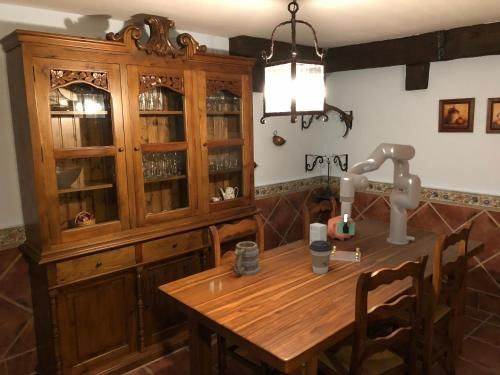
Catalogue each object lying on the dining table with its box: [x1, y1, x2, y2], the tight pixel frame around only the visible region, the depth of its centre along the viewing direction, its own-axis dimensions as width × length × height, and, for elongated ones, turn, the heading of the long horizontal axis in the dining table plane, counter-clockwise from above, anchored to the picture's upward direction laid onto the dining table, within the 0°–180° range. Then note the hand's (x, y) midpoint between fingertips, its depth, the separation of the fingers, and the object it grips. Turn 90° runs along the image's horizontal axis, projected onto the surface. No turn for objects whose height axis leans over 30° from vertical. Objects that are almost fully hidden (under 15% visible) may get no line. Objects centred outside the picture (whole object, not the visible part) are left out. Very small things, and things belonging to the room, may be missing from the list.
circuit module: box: [337, 221, 356, 236], centre depth 229 cm, size 9×5×6 cm, turn 71°
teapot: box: [327, 215, 354, 242], centre depth 265 cm, size 22×13×14 cm, turn 135°
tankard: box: [233, 240, 261, 276], centre depth 211 cm, size 20×13×15 cm, turn 154°
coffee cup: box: [308, 240, 333, 275], centre depth 211 cm, size 11×11×15 cm
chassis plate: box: [329, 245, 362, 263], centre depth 232 cm, size 16×12×4 cm
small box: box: [309, 222, 328, 246], centre depth 251 cm, size 8×6×13 cm
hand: (345, 231), depth 229 cm, fingers closed on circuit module, 5 cm apart
